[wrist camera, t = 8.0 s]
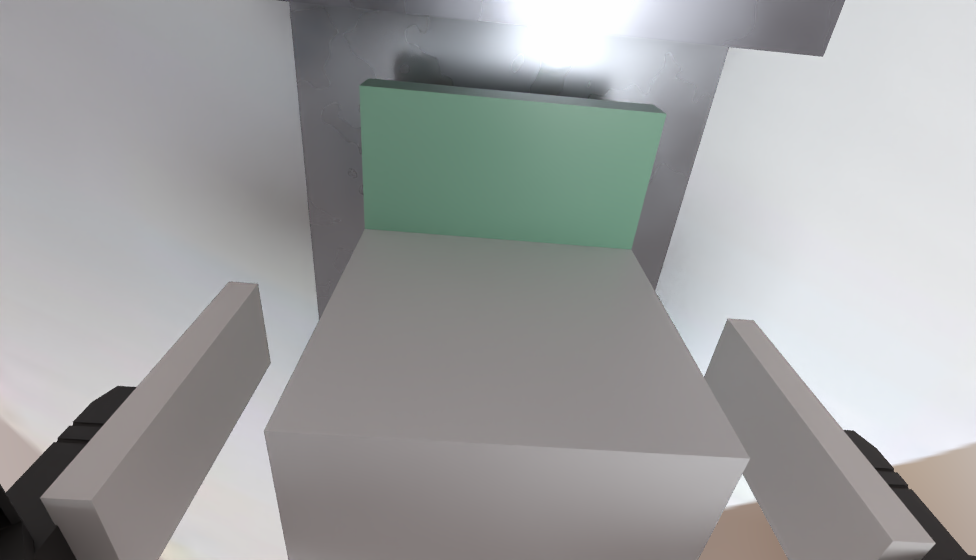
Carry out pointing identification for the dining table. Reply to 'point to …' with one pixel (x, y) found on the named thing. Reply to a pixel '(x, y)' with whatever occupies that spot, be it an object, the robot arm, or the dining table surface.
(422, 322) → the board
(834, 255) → the dining table surface
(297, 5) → the chassis
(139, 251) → the dining table surface
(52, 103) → the dining table surface
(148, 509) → the robot arm
